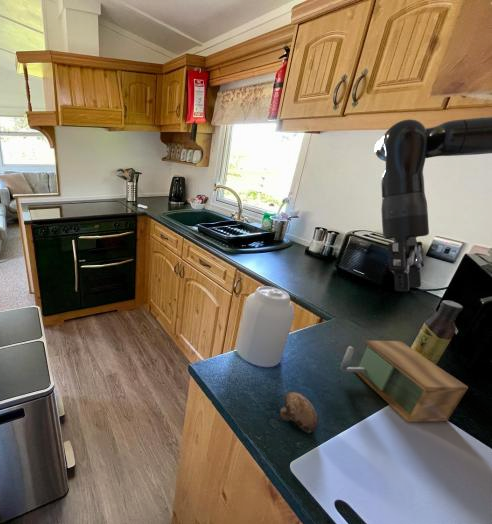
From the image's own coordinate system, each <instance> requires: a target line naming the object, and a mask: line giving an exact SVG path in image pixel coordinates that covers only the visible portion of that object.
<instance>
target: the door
mask: <svg viewBox="0 0 492 524" xmlns="http://www.w3.org/2000/svg"><path fill="white" fill-rule="evenodd" d="M354 352H355V348H354V347H353V346H348V347H347V349H346V351H345V354H344V356H343V358H342V361H341V364H340V367H339V368H340V370H341V371H342V373H356V372H362V373H363V374H364V375H365V376H366V377H367V378H368V379H369V380H370V381H371V382H372V383H374V384H375V385H376V386H377V387H378V388H379V389H380V390H381V391H384V389H385V387H386V385H387V383H388V380H389V378H390V376H391V374H392V372H393V370H394V368H395V367H394V366H393V365H392V364H390V363H389V362H388V361H386V360H385V359H384V358H383V357H381V356H380V355H379V354H378V353H376V352H375V351H374V350H373V349H371V348H370V347H366V349H365V351H364V354H363V356H362V358H361V361H360V363H359V365H358V366H349V365H350V362H351V361H352V357H353V355H354Z"/></svg>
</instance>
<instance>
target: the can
mask: <svg viewBox="0 0 492 524" xmlns="http://www.w3.org/2000/svg"><path fill="white" fill-rule="evenodd" d="M294 319H295V306H294V305H293V304H292V303H291V296H290V294H289V293H288V292H287V291H285V290H283V289H281V288H278V287H275V286H271V285H270V286H269V285H262V286H258V287H257V288H256V289H255V290H254V292H253V293H251V294H249V295H247V297H246V299H245V301H244V306H243V310H242V315H241V319H240V324H239V329H238V331H237V336H236V341H235V346H234V347H235V350H236V352H237V354H238V356H239V357H241V358H242V359H243V360H244V361H245V362H248V363H249V364H252V365H254V366H257V367H260V368H272V367H275V366H278V364H280V362H281V361H282V358H283V355H284V352H285V349H286V346H287V341H288V338H289V336H290V332H291V329H292V327H293V326H292V325H293V322H294Z"/></svg>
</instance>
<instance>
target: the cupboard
mask: <svg viewBox="0 0 492 524" xmlns="http://www.w3.org/2000/svg"><path fill="white" fill-rule="evenodd" d="M365 345H366V346H367V347H370V348H371V349H373V350H374V351H375V352H376V353H378V354H379V355H380V356H381V357H383V358H384V359H385V360H386V361H388V362H389V363H390V364H392V365H393V366H394V367H395V368H394V370H393V372H392V374H391V376H390V378H389V380H388V383H387V385H386V387H385V389H384V391H381V390H380V389H379V388H378V387H377V386H376V385H375V384H374V383H372V382H371V381H370V380H369V379H368V378H367V377H366V376H365V375H364V374H363V373H362V372H355V374H356V375H358V376H359V378H361V379H362V380H363V381H364V382H365V383H366V384H367V386H369V387H370V388H371V389H372V390H374V391H375V393H376V394H377V395H379V396H380V398H382V399H383V400H384V401H385V402H386V403H387V404H388V405H389V406H390V407H391V408H392V409H393V410H394V411H396V413H398V414H399V415H400V416H401V417H402V418H403V419H404V420H405V421H406V422H408V423H409V422H411V423H412V422H415V423H416V422H448V421H449V420H450V418H451V416H452V415H453V413H454V411H455V410H456V408H457V407H458V405H459V403H460V402H461V400H462V398H463V397H464V395H465V394H466V392H467V391H468V389H469V387H468V385H466V384H465V383H464V382H461V381H460V380H459V379H457V378H456V377H455V376H454V375H451V374H450V373H449V372H447V371H445V370H444V369H443V368H441V367H440V366H438V365H437V364H434V363H432V362H431V361H429V360H428V359H426V358H425V357H423V356H422V355H421V354H419V353H418V352H416V351H415V350H413V349H412V348H411V347H410V346H409V345H407V344H406V343H404V342H403V341H401V340H366V341H365ZM367 347H366V348H367Z"/></svg>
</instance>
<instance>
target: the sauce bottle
mask: <svg viewBox="0 0 492 524" xmlns="http://www.w3.org/2000/svg"><path fill="white" fill-rule="evenodd" d="M463 308H464V306H463V305H461V304H460V303H458V302H455V301H453V300H442V301H441V302H440V306H439V308H438V310H437V312H436V313H434V314H433V315H432V316H431V317H429V318H428V319H427V320H426V321H424V322H423V325H422V327H421V328H420V330H419V331H418V333H417V336H416V338H415V339H414V340H413V341H414V342H413V343H412V345H411V347H410V348H412V349H413V350H415V351H416V352H418V353H419V354H421V355H422V356H423V357H425V358H426V359H428V360H429V361H431V362H432V363H434V364H435V365H437V364H438V362H439V360H440V359H441V357H442V356H443V354H444V352H445V350H447V348H448V345H449V344H450V342H451V341H452V338H453V336H454V334H455V332H456V329H457V328H456V323H455V321H456V320H457V317H458V315H459V314H460V313H461V312H462V310H463Z"/></svg>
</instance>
